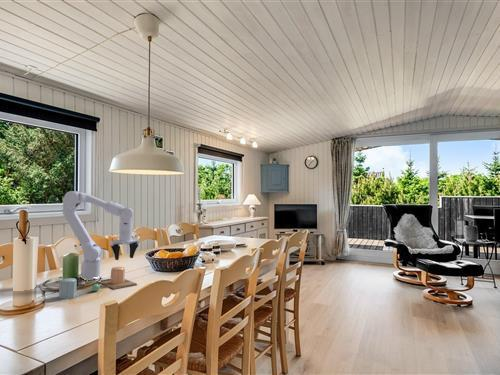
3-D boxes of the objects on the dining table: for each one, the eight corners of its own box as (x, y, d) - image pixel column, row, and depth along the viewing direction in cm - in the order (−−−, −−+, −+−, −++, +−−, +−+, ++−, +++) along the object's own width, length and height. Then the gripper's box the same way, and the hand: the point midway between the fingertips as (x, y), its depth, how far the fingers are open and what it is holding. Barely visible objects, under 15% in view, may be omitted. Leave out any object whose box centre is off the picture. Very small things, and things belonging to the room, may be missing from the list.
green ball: (90, 291, 134) (90, 283, 134) (97, 289, 136) (98, 282, 136) (93, 292, 132) (93, 285, 132) (100, 291, 134) (101, 284, 134)
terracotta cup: (108, 282, 146) (109, 267, 146) (120, 280, 150) (120, 266, 150) (114, 284, 142) (115, 270, 143) (126, 282, 147) (126, 268, 147)
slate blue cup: (57, 296, 125) (58, 279, 126) (72, 293, 130) (73, 277, 130) (62, 299, 122) (63, 282, 122) (77, 296, 126) (78, 280, 126)
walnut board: (97, 282, 147) (97, 280, 147) (120, 278, 156) (120, 276, 156) (113, 289, 137) (113, 288, 137) (137, 285, 145) (137, 283, 145)
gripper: (115, 233, 149) (113, 261, 149) (143, 231, 160) (141, 258, 160) (108, 231, 154) (106, 259, 154) (135, 230, 165) (134, 256, 165)
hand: (124, 258), depth 157 cm, fingers open, 7 cm apart
